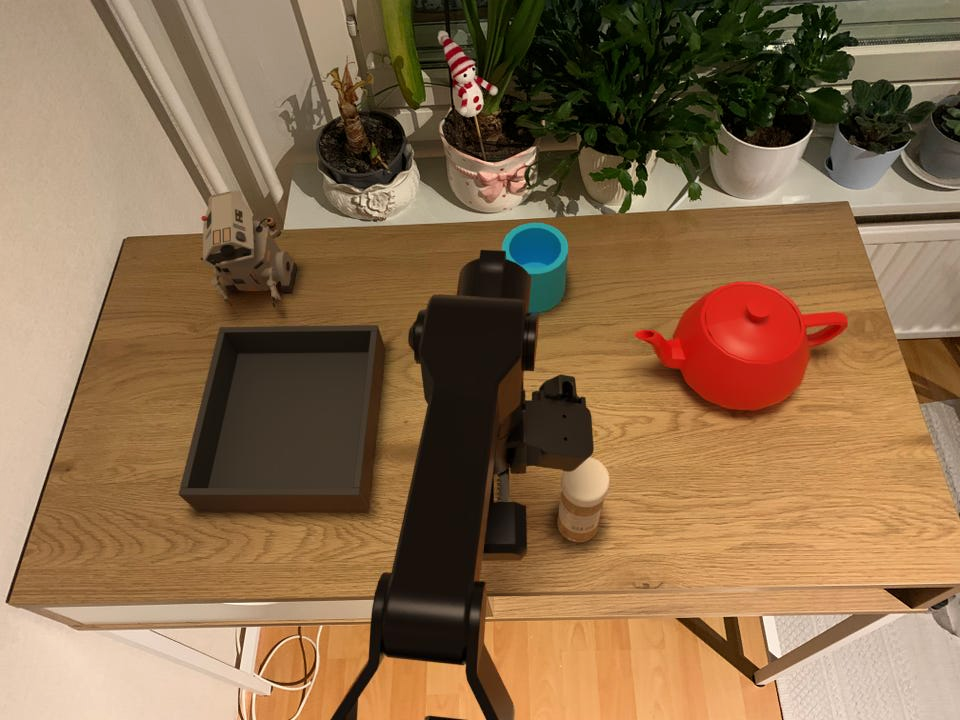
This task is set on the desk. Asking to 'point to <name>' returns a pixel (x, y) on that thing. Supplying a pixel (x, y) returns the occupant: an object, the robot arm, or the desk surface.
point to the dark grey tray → (287, 421)
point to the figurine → (243, 248)
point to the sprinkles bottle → (582, 500)
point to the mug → (540, 261)
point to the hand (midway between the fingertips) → (492, 482)
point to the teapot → (744, 345)
